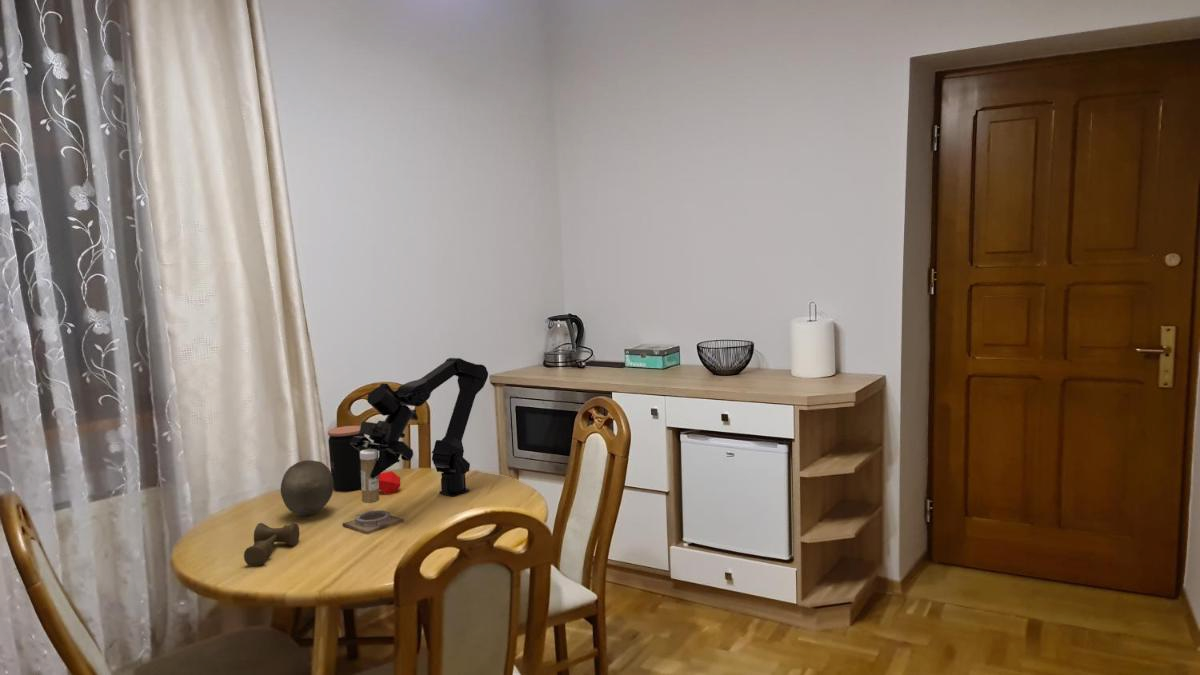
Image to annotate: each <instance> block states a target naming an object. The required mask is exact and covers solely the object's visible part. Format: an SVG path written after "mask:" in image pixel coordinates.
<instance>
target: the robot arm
mask: <svg viewBox="0 0 1200 675" xmlns="http://www.w3.org/2000/svg"><path fill="white" fill-rule="evenodd" d="M454 376H455V377H457V384H458V389H459V391H458V394H457V398H456V401H455V403H454V407H453V410H452V411H453V412H452V413H451V417H450V420H449V422H448V427H447V430H446V433H445V436H444V437H443V438H442V439H441V440H439V439H436V441H435V442H434V447H433V449H432V451H431V454H432V456H431V461H432V462H433V466H434V468H435V469H436V472H438V473H441V474H440V475H441V478H440V486H441V488H440V489H441V490H439V494H443V495H445V496H450V497H455V496H458V495H461V494H464V493H467V492H470V488H468V487H467V484H466V473H467V472H470V466H471V463H470V462H469V461H468V460H466V459H465V457H464V453H465V449H464V446H463V445H464V444H463V438H464V435H465V432H466V428H467V425H468V422H469V417H470V414H471V411H472V408H473V405H474V402H475V399H476V396H477V395H478V394H479V392H480V391H482V390H483V388H484V387H485V385H486V383H487V380H488V378H489V377H488V376H489V372H488V370H487V367H486V366H485V365H484V364H481V363H480V364H478V363H477V364H476V363H474V362H470V361H467V360H465V359H463V358H460V357H449V358H447V359H446V360H445V361H444V362H442V363H441V364H439V365H438V366H436V368H434V369H433V370H431V371H430V372H429V373H427V374H425V375H423V376H422V377H421V378H419V379H416V380H411V381H409V382H406V383H403V384H401V385H400V386H399V387H398V388H397V390H395V391H394V390H393V389H392V388H391V386H390V385H389V384H388V383H381V384H380V385H379V386H378V387H376V388H374V389H373V390H372V391H371V392H369V394H368V396H367V398H366V400H367V403H368V405H370V406H371V407H372V408H373V409H374V410H376V411H377V412H378V413H379V414H380V415H382V416H385V417H386V416H387V417H386V418H385V419H384V420H378V422H377V423H375V422H370V421H369V422H368V421H361V424H360V426H361V427H360V431H359V434H364V435H365V437H362V436H355V437H353V438H352V440H351V442H350V444H351V445H352V446H353V447H354V448H356V449H357V450H358V451H359V452H360V451H362V450H365V449H376V450H378V460H377V462H376V464H375V466H374V468H373V470H372V473H371V475H370V477H371V478H375V477H376V476H378V475H379V474H380V473H384V471H386V470H387V469H388V468H390V467H391V466H394V465H395V464H396V463H400V461H401V460H402V461H405V462H411V460H412V459H413V456H414V450H413V449H412V448H411V447H410V446H409V445H408V444H406V443H405V442H404V441H401V440H400V439H401V438H402V439H404V438H405V436H406V434H405V433H404V431H405V429H406V428H407V425H408V424H409V422H410V420H411V421H413V420H414V421H417V420H418V419H419V417H418V414H417V410H416V409H411V407H421V406H422V405H425V403H426V402H427V401H428V400H429V399H430V397H431V394H432V393H433V391H434V390H436V389H438V388H439V387H440V386H442V385H443V384H444V383H446V382H447V381H448V380H450V379H451V378H453V377H454ZM366 435H367V436H368V438H367V436H366ZM372 441H373V442H372ZM400 457H401V460H400V459H399V458H400ZM358 475H359V476H361V462H360V468H359V473H358Z"/></svg>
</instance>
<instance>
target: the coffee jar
mask: <svg viewBox="0 0 1200 675" xmlns="http://www.w3.org/2000/svg"><path fill="white" fill-rule="evenodd" d="M360 427H361V425H346V426H345V425H344V426H338V427H334V428H332V429H328V430H327V434H328V436H329V437H328V450H329V461H330V462H329V463H330V472H331V474H332V477H333V484H334V486H333V490H335V492H342V493H343V492H344V493H346V492H355V491H359V490H362V489H361V476H359V475H358V473H359V468H360V462H361V459H360V452H359V451H358V450H357V449H356V448H354V447H353V446H352V445H351V444H350V442H351V440H352V438H353V437H355V436H362V437H366V435H365V434H359V431H360Z"/></svg>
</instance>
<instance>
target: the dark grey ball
mask: <svg viewBox="0 0 1200 675" xmlns="http://www.w3.org/2000/svg"><path fill="white" fill-rule="evenodd" d="M333 486H334V484H333V477H332V474H331V469H329V467H328V466H327V465H326V464H325V463H323V462H321V461H318V460H313V459H312V460H311V459H310V460H308V459H307V460H301V461H298V462H295V463H294V464H293V465H291V466H289V468H288V469H287V470H286V471H285V473H284V475H283V477H282V481H281V484H280V495H281V497H282V498H281V499H282V501H283V503H284V505H285V507H286V508H287V509H288V510H289V511H290V512H292V513H293V514H295V515H297V516H302V517H303V516H304V517H306V516H312V515H314V514H316V513H318V512H320V511H321V510H322V509H323V508H325V506H326V505H327V504H328V503H329V501H330V499H331V498H332V495H333V492H334V488H333Z"/></svg>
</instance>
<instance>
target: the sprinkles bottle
mask: <svg viewBox="0 0 1200 675" xmlns="http://www.w3.org/2000/svg"><path fill="white" fill-rule="evenodd" d="M378 458H379V451H378V450H376V449H365V450H362V451H360V459H361V489H360V490H361V502H362V503H364V504H372V503H376V502H378V501H380V494H379V493H380V490H379V477H378V476H376V477H375V478H371V477H370V475H371V473H372V470H373V468H374V466H375V464H376V462H377V460H378Z"/></svg>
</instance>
